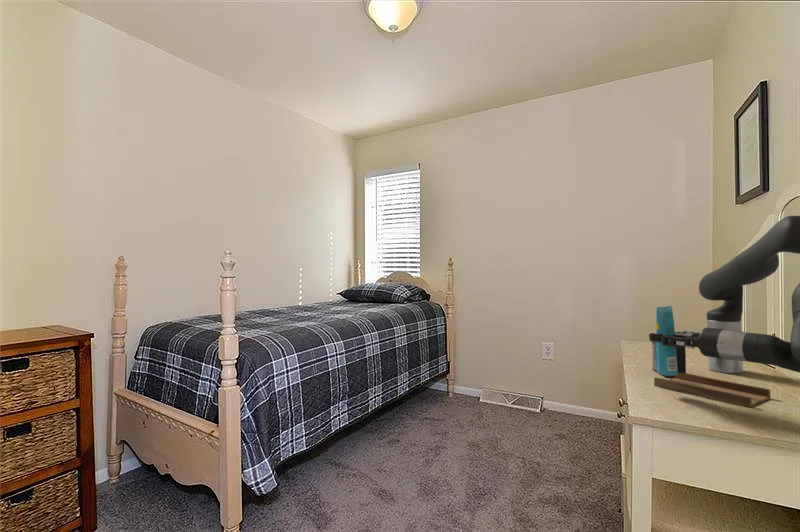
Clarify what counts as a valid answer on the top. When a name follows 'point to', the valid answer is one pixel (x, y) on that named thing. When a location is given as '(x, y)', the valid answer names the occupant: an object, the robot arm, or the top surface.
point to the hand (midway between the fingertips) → (656, 335)
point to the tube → (668, 353)
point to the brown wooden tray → (715, 389)
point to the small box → (680, 360)
